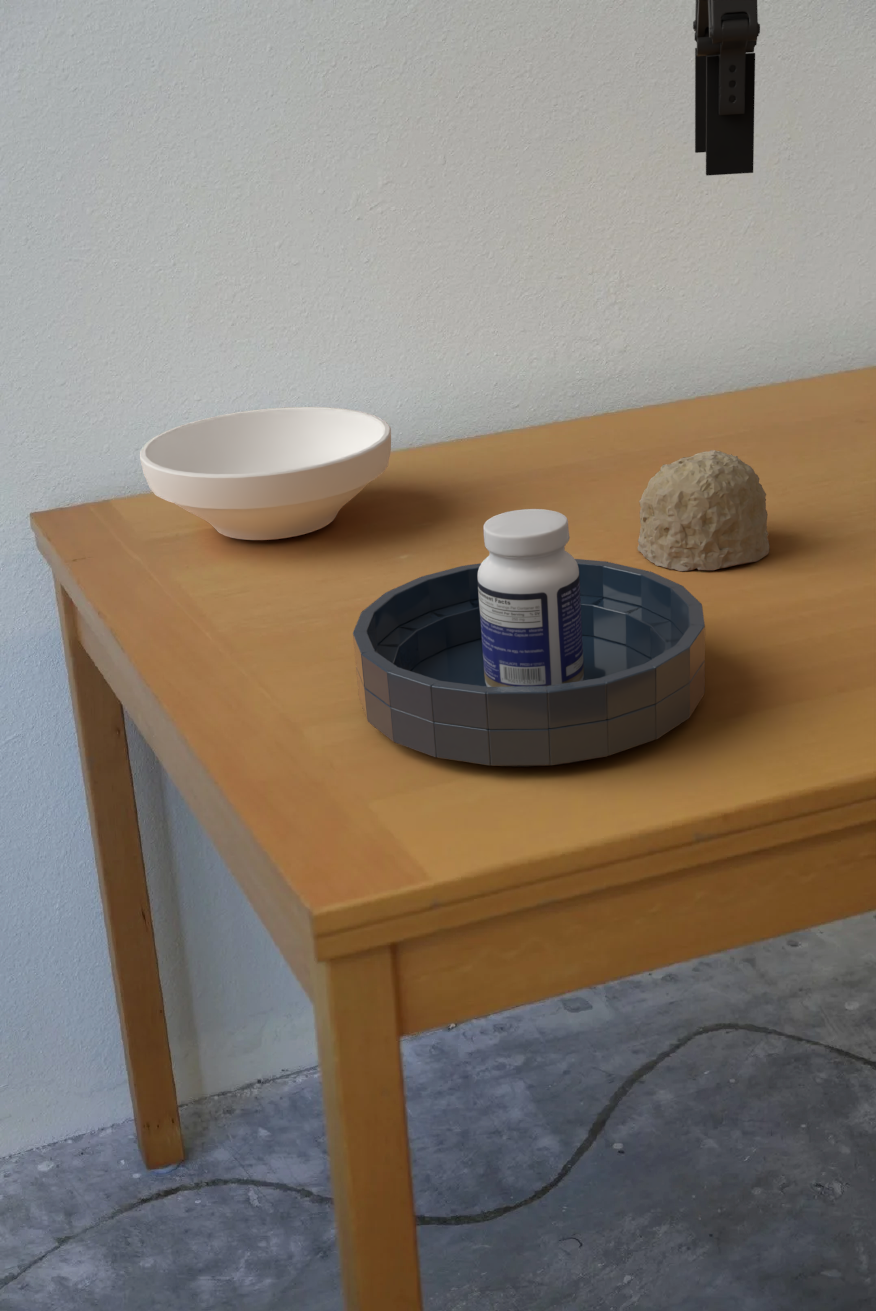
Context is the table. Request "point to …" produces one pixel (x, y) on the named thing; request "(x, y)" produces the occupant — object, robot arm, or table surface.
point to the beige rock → (704, 514)
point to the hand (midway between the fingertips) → (722, 162)
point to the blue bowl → (530, 717)
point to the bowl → (268, 467)
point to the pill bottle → (530, 601)
